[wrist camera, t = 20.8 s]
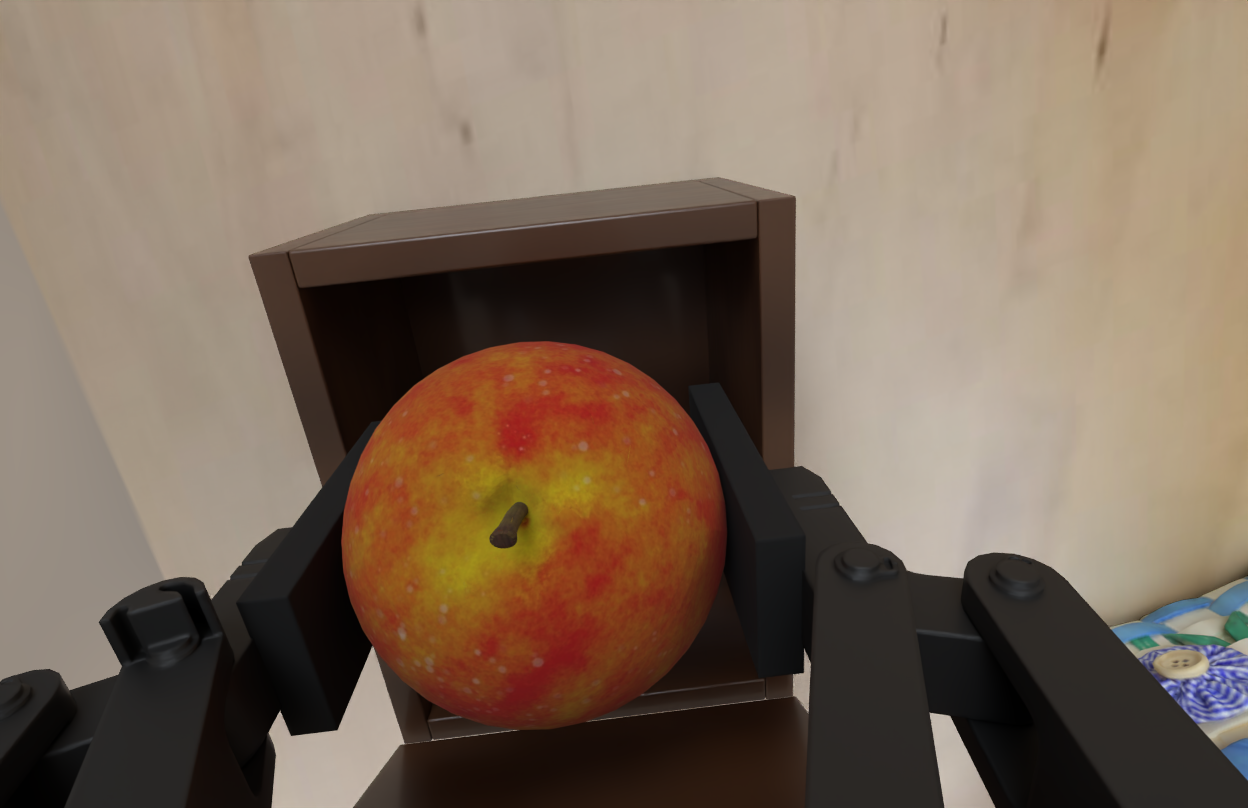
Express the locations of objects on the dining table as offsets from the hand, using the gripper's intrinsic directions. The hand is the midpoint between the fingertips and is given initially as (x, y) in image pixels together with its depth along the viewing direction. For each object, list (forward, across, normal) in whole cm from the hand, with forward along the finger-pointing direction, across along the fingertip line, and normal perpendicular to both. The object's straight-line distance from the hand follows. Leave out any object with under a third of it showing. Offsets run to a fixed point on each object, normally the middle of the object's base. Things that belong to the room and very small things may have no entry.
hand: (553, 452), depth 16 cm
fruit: (-1, 0, -2) cm, 2 cm away
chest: (+10, 0, -2) cm, 10 cm away
